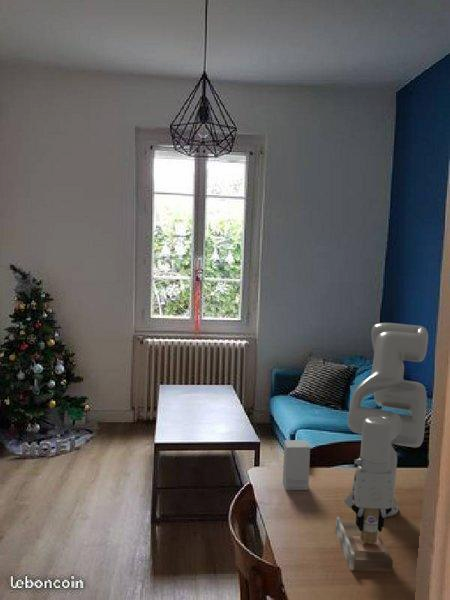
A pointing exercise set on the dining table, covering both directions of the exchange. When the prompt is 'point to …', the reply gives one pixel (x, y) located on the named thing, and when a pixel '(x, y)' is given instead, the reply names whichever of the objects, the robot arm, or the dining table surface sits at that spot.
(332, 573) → the dining table surface
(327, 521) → the dining table surface
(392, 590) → the dining table surface
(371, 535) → the sprinkles bottle
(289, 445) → the skincare box
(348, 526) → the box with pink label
